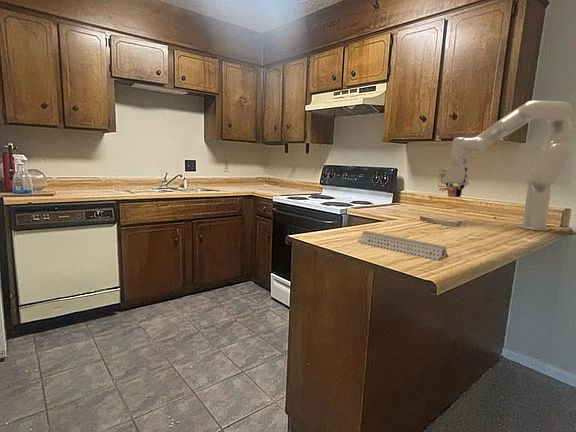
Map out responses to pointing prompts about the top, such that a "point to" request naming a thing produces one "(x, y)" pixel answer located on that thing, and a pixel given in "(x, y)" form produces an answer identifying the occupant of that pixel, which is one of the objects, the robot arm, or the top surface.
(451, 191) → the gauge
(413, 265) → the top surface
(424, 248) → the corner bead
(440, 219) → the board
